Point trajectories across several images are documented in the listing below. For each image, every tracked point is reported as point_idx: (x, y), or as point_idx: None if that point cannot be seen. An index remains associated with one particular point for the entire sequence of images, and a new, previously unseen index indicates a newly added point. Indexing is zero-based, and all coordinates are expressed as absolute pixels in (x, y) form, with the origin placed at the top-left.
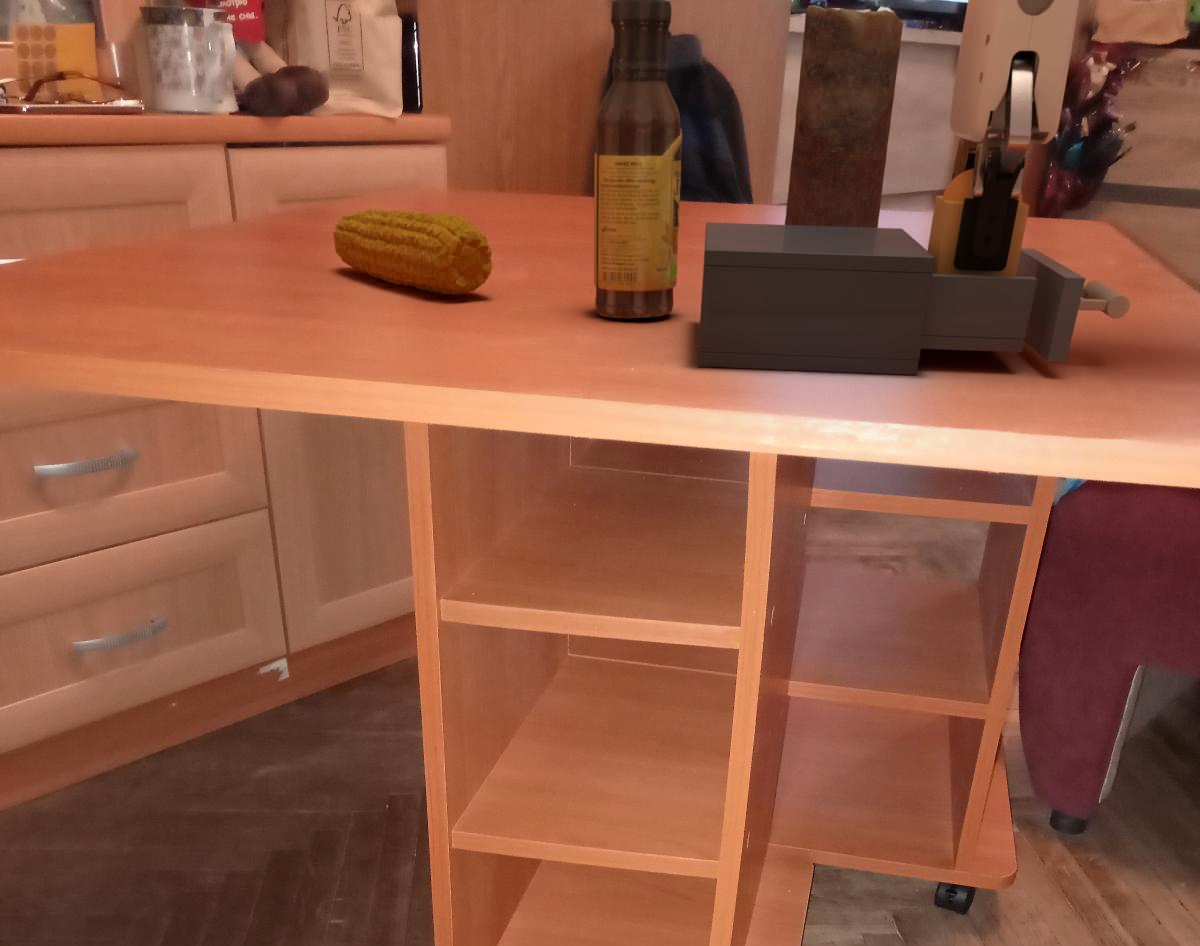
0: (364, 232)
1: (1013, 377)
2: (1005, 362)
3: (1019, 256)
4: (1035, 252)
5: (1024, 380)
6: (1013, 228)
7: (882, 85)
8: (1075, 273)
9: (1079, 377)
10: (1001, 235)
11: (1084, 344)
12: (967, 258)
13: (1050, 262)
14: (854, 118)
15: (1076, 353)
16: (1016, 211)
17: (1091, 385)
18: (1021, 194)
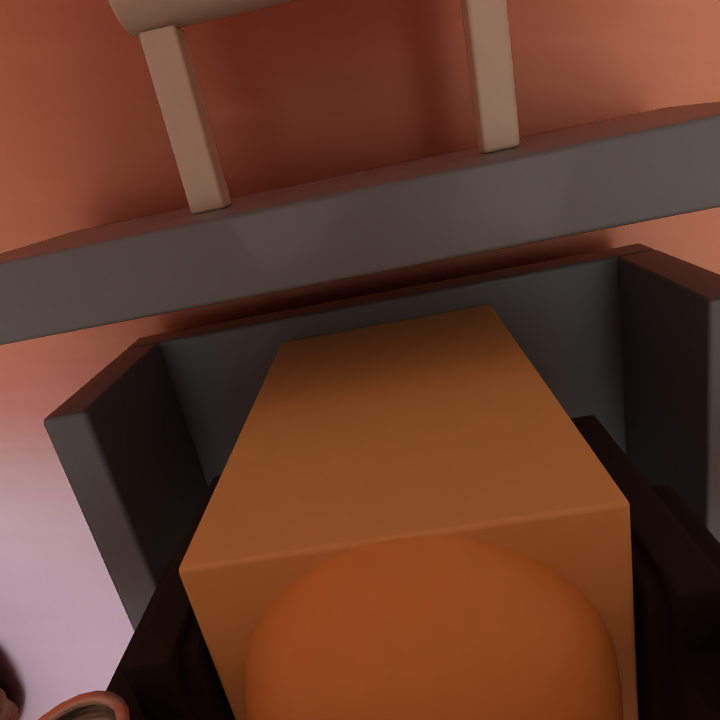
0: None
1: (649, 244)
2: (462, 262)
3: (544, 383)
4: (52, 282)
5: (680, 217)
6: (653, 493)
7: None
8: (709, 129)
9: (609, 55)
10: (702, 523)
11: (84, 3)
12: None
13: (374, 229)
14: None
15: (250, 42)
16: (693, 546)
17: (712, 23)
18: (464, 577)
